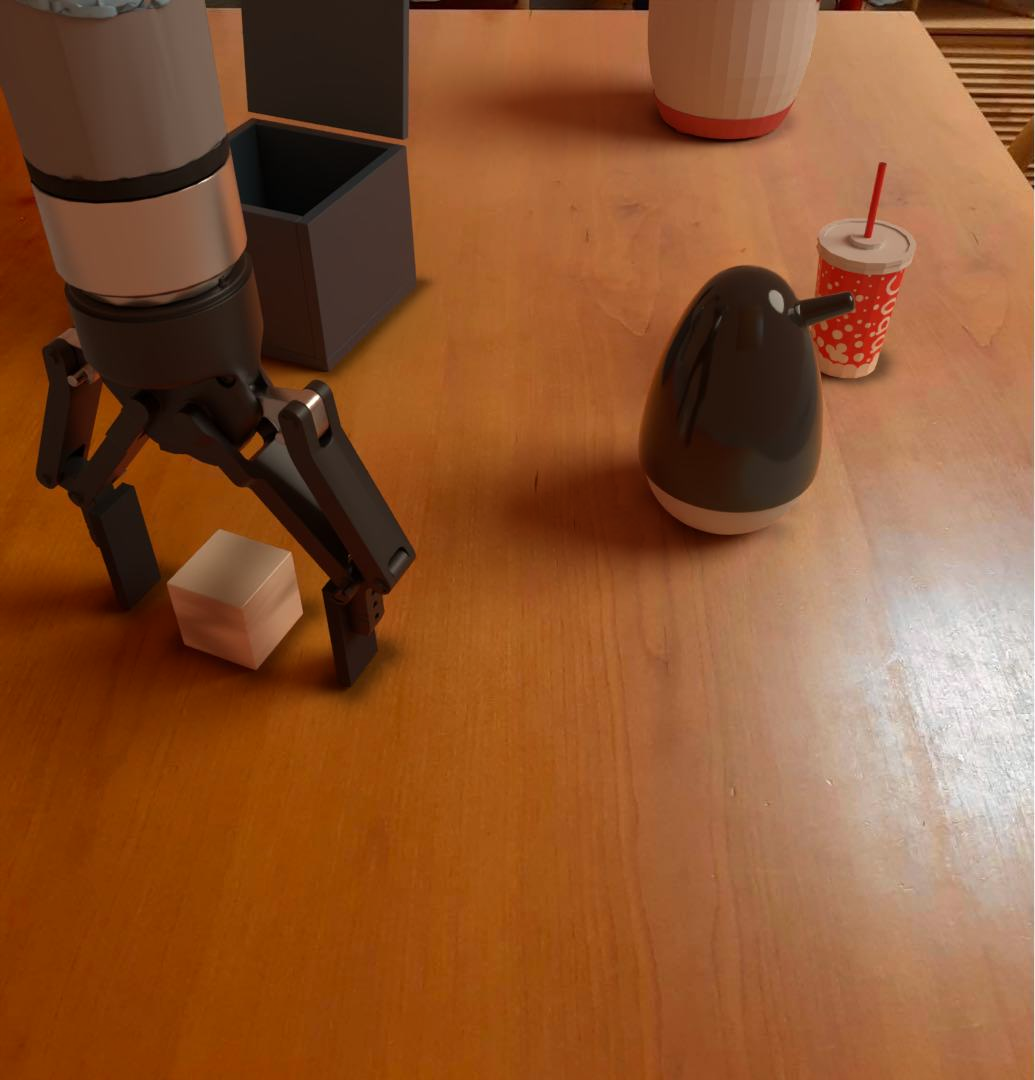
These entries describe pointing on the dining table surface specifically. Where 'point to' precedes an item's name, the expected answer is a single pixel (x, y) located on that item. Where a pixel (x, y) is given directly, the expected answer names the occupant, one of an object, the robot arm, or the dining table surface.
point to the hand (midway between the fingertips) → (245, 628)
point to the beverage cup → (859, 287)
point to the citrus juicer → (729, 62)
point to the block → (236, 598)
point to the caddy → (323, 235)
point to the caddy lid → (329, 62)
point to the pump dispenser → (737, 403)
